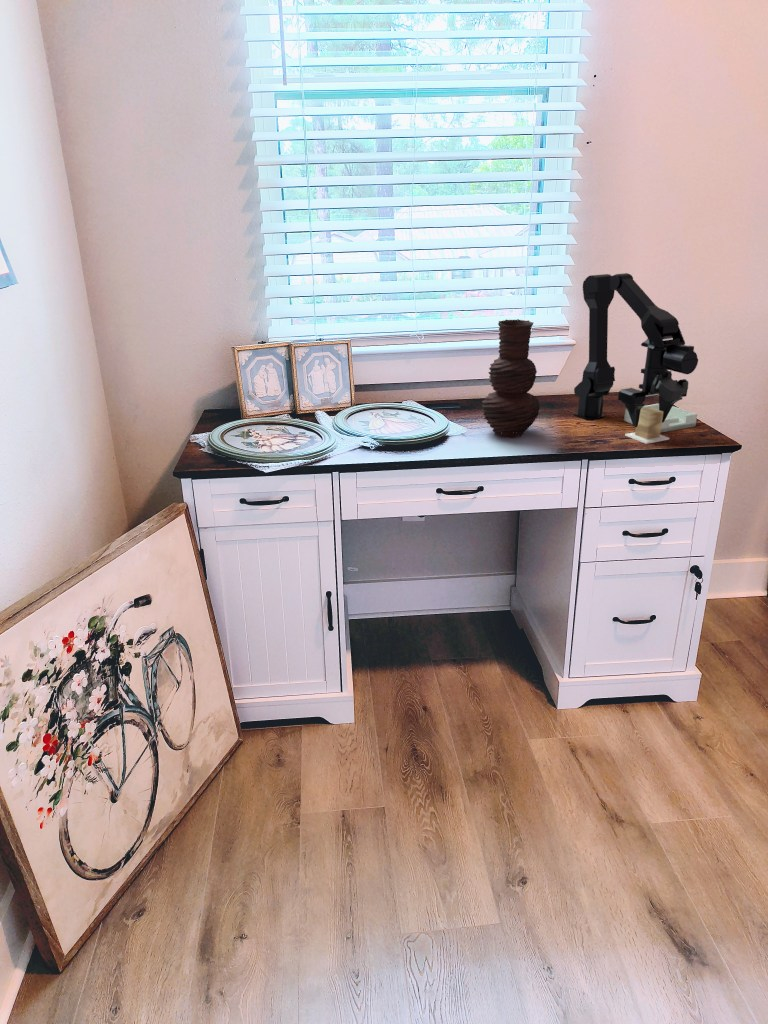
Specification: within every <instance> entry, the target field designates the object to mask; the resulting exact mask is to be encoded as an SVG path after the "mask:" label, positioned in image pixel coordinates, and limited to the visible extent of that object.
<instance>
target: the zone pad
mask: <svg viewBox="0 0 768 1024" xmlns="http://www.w3.org/2000/svg"><path fill="white" fill-rule="evenodd" d="M624 436H625V437H628V438H630V439H633V440H635V441H638V442H641V443H643V444H646V445H648V444H653V443H658V442H662V441H663V442H664V441H668V440H670V437H668V436H665V435H662V434H660V437H658V438H653V439H648V440H647V439H644V438H641V437H639V436H636V435H635V431H634V432H630V433H629V432H628V433H625V434H624Z"/></svg>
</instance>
